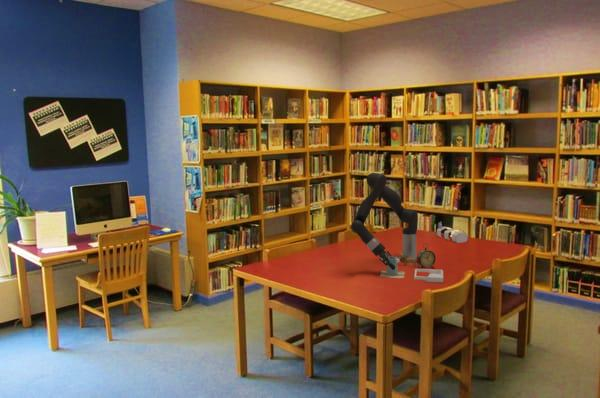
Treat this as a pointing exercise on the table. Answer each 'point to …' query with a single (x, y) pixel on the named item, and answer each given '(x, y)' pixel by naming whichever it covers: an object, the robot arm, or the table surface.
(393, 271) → the blue grey tall block
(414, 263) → the lion figurine
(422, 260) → the alarm clock
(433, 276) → the tray
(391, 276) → the stake base
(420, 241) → the table surface
